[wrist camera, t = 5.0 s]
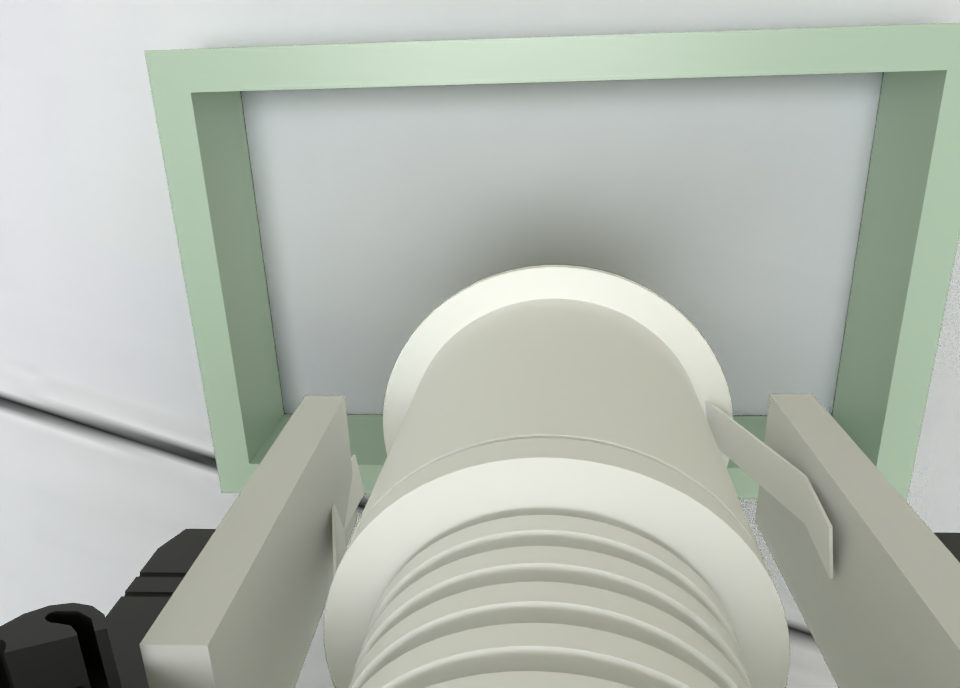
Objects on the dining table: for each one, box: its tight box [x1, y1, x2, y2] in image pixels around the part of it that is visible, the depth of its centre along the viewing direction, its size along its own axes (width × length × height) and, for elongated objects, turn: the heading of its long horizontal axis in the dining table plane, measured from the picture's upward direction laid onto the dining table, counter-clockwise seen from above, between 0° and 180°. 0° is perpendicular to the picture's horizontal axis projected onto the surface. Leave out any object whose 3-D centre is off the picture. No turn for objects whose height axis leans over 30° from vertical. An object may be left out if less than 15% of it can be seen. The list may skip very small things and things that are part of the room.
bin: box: [144, 23, 960, 500], centre depth 26 cm, size 24×15×4 cm, turn 92°
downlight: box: [324, 265, 833, 688], centre depth 11 cm, size 8×7×10 cm
